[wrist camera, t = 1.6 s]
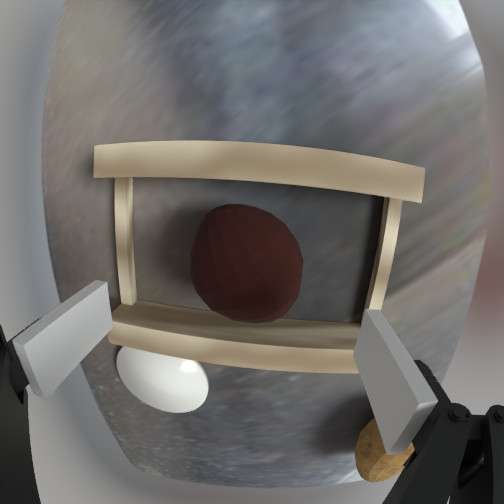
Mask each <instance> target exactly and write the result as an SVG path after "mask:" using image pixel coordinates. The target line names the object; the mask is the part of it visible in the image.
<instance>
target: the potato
mask: <svg viewBox="0 0 504 504" xmlns="http://www.w3.org/2000/svg"><path fill="white" fill-rule="evenodd" d="M414 450H415V449H414V446H413V444H412V443H411V444H410V445H409V447H408V448H407V450H406V451H405V452H402V453H396V454H390V455H387V453H386V450H385V447H384V444H383V441H382V437H381V434H380V431H379V428H378V425H377V422H376V419H375V417H374V418H373V419H372V420H371V421H370V422H369V423H368V424H367V425H366V426H365V427H364V429H363V430H362V431H361V432H360V434H359V438H358V441H357V444H356V448H355V460H356V466H357V469H358V472H359V474H360V476H361V477H362V478H363V479H364V480H367V481H369V482H378V481H384V480H387V479H389V478H391V477H393V476H395V475H396V474H397V473H399V472H400V471H401V470H403V469H404V467H405V466H402V465H403V464H404V463H405V462H406V460H407V459H408V458H409V456H410V455H411V454H412V453H413V451H414Z"/></svg>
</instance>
